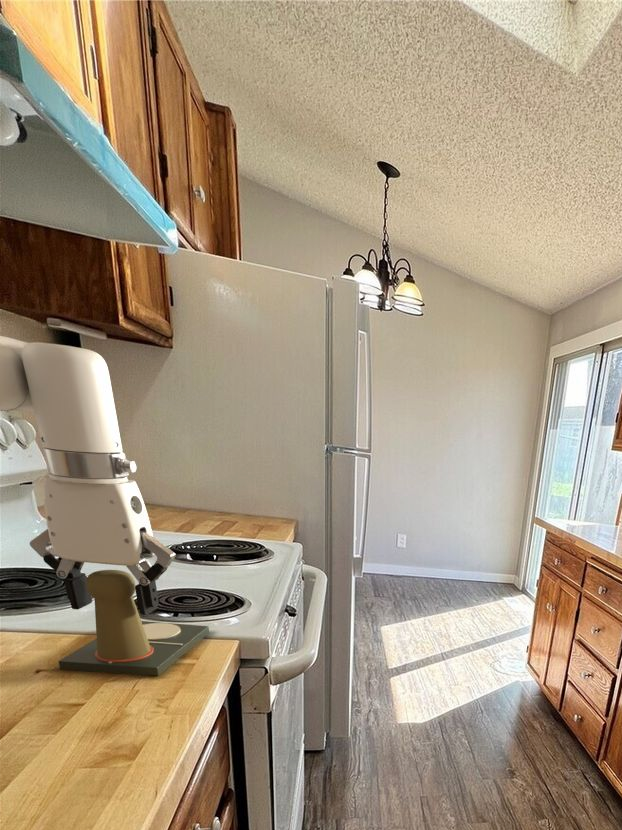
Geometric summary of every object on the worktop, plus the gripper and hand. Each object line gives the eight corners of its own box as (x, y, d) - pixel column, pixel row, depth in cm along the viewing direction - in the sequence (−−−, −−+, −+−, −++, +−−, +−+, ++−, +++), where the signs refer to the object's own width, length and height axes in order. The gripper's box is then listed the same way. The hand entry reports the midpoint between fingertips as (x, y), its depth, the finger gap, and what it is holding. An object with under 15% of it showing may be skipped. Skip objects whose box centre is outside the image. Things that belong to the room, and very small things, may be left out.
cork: (85, 654, 73) (66, 572, 68) (125, 639, 78) (109, 563, 74) (124, 663, 72) (107, 581, 67) (161, 647, 77) (148, 570, 73)
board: (60, 669, 72) (57, 659, 71) (128, 627, 86) (126, 618, 85) (158, 676, 73) (156, 666, 72) (209, 633, 87) (208, 624, 87)
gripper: (180, 471, 69) (198, 606, 77) (29, 455, 68) (63, 594, 75) (149, 477, 63) (172, 624, 70) (-20, 460, 61) (23, 612, 68)
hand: (115, 608), depth 73 cm, fingers open, 7 cm apart
